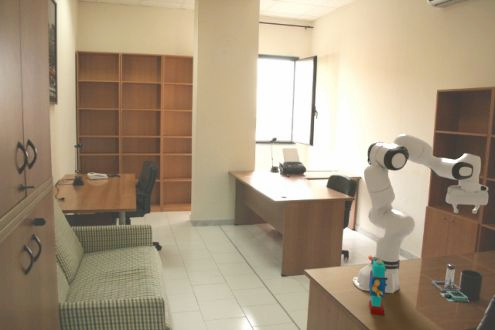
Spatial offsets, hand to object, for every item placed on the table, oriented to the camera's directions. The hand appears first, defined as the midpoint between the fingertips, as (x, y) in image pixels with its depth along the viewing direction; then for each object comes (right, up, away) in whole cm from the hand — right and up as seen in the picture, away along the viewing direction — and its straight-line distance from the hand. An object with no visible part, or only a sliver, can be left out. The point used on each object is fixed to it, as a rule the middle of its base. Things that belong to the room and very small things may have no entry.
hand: (465, 212), depth 209 cm
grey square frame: (-11, -37, -4) cm, 39 cm away
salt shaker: (-10, -37, -4) cm, 38 cm away
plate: (-13, -39, -15) cm, 43 cm away
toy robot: (-54, -39, -29) cm, 73 cm away
